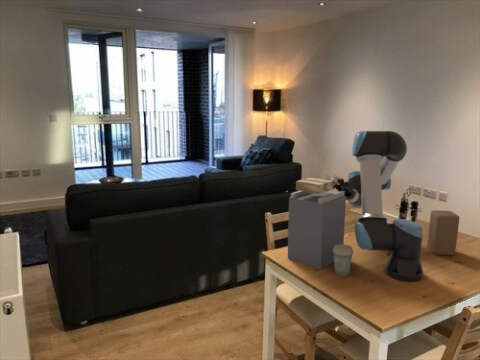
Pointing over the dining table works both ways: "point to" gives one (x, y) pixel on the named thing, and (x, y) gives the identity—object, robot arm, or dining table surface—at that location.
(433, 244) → the wooden block
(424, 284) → the dining table surface
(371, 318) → the dining table surface
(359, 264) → the dining table surface
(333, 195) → the charcoal plinth
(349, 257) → the coffee cup
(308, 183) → the oak board
